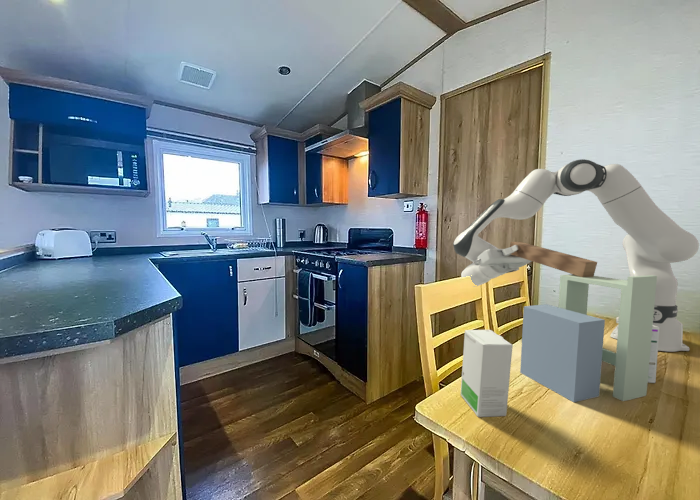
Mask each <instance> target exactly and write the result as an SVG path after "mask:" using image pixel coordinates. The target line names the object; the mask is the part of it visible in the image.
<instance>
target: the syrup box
mask: <svg viewBox="0 0 700 500" xmlns="http://www.w3.org/2000/svg"><path fill="white" fill-rule="evenodd" d="M658 342H659V327H657V326H654V325H653V327H652V338H651V349H650V360H649V371H648V383H649V384H656V379H657V367H658V353H659V350H658ZM648 383H647V384H648Z"/></svg>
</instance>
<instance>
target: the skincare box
mask: <svg viewBox="0 0 700 500" xmlns="http://www.w3.org/2000/svg"><path fill="white" fill-rule="evenodd" d="M513 347H514V346H513V343H511V342H509V341H507V340H506V339H504V337H503V336H502V335H500V334H497V333H496V332H495V331H493V330H492V329H467V330H466V329H465V330H464V339H463V352H462V353H463V354H462V355H463V356H462V366H461V367H462V369H461V370H462V371H461V381H460V383H461V384H460V397H462V399H463V400H464V402H465V403H466V404H467V405H468V406H469V408H470V409H471V410H472V412H474V413H475V416H476V417H478V418H490V417H493V418H495V417H507V414H508V413H507V411H508V400H509V390H510V388H509V387H510V378H511V367H512V366H511V365H512V355H513V354H512V353H513Z"/></svg>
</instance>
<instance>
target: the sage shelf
mask: <svg viewBox="0 0 700 500" xmlns="http://www.w3.org/2000/svg"><path fill="white" fill-rule="evenodd" d="M559 277H560V278H559V290H558V306H557V307H559V308H563V309H566V310H570V311H574V312H578V313H581V314H585V315H588V299H589V289H590V285H595V286H600V287H606V288H612V289H616V290H617V289H618V290H620V291H621V292H620V300H619V311H618V314H619V315H618V317H619V323H617V325H618V337H617V339H616V350H615V351H616V352H614V351H612V350H609V349H607V348H604V347H603V352H602V362H605V363H607V364H609V365H612V366H614V375H613V376H614V377H613V391H612V398H615V399H617V400H619V401H621V402H625V401H630V400H635V399H638V398H641V397H646V396H647V394H648V393H647V392H648V371H649V360H650V349H651V338H652V327H653V315H654V304H655V293H656V282H657V276H653V275H647V276H631V277H630V276H627V280H626V279H620V278H611V277H606V276H599V275H594V277H580V276H577V275H573V274H560V275H559Z"/></svg>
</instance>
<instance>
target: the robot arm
mask: <svg viewBox="0 0 700 500" xmlns="http://www.w3.org/2000/svg"><path fill="white" fill-rule="evenodd" d="M584 192H591V193H592V194H593V195H594V196H595V197H597V199H598V201H599V202H600V204H601V205H602V207H603V208H604V210H606V212H607V214H608V216H610V218H611V219H612V221H613V222H614V224H616V225H617V226H619V227H620V228H621V229H623V231H625V232H626V233H627V234H626V235H625V236H624V238H623V239H622V247H623V250H624V251H625V253H626V259H627V266H628V271H629V277H631V276H647V275H653V276H657V282H656V293H655V304H654V315H653V325H654V326H657V327H659V342H658V352H659V351H660V352H661V351H662V352H668V353H669V352H673V353H674V352H679V351H681V352H682V351H683V352H685V351H686V352H689V351H690V347H689V346H688V345H687V344H685V343H683V337H684V336H683V332H684V331H683V329H684V328H683V327H684V324H683V323H682V322H681V321H680V320H678V319H677V316H678V311H679V309H678V305H677V296H678V295H677V294H678V284H679V283H678V280H677V277H676V276H675V275H674V273H673V270H672V269H673V268H672V265H671V264H672V263H679V262H680V263H681V262H684V261H687V260H690V259H691V258H693V257H695V255H696V254H697V252H698V251H699V246H700V243H699V240H698V238H697V237H696V236H695V235H694V234H693V233H691V232H689V231H687V230H685V229H684V228H683V227H681V226H680V225H679V224H678V223H677V222H675V221H674V220H673V219H672V218H671V217H670V216H669V215H667V214H666V213H665V212H664V211H663V210H661V209H660V207H658V206H657V205H656V203H655V202H654V200H653V199H652V198H651V197H650V196H649V194H648V193H647V191H646V190H645V189H644V187H643V186H642V184H641V183H640V182H639V181H638V179H637V178H636V177H635V176H634V175H633V174H632V173H631V172H630V171H629V170H628V169H627V168H625V167H624V166H623V165H621V164H618V163H612V164H611V163H610V164H606V165H601V164H599V163H597V162H595V161H592V160H589V159H584V158H583V159H576V160H573V161H571V162H569V163H567V164H564V165H563V166H562V167H561V168H559V169H558V170H557V171H550V170H548V169H545V168H536V169H534V170H531V172H529V173H528V174H527V175H526V177H525V178H523V180H522V181H521V182H520V183H519V184H518V185H517V186H516V188H515V189H514V190H513V191H512V193H511V194H510V195H508V196H507V197H505V198H502V199H501V198H499V199H497V200H495V201H494V202H492V203H491V204H490V205H489V206H488V207H486V209H485V210H483V212H482V213H481V214H480V215H479V216H477V218H476V219H475V220H474V221H472V223H471V224H470V225H469V226H467V228H465V229H464V230H462V232H460V234H459V235H457V236H456V237H455V239H454V241H453V243H452V245H453V250H454V252H455V253H456V254H457V255H459V256H460V257H463V258H465V259H467V260H469V261H470V262H472V263H470V264H469V265H467V266H466V267H465V268H464V269H463V270H462V271H461V274H460V276H461V278H462V277H466V276H470V277H471V280H472V282H473V283H474V284H475V285H477V286H476V287H478V286H481V285H484V284H486V283H488V282H490V281H491V280H492V279H495V278H498V277H500V276H503V275H505V274H510V273H514V272H517V271H519V270H520V268H522V267H524V266H527V265H528V264H529V263H531V262H533V261H530V260H527V259H524V258H521V257H517V256H514V255H511V253H514V252H517V251H519V250H520V246H519V245H514V246H512V247H510V246H509V247H506V248H498V247H497V246H496V245H493V244H492V243H490V242H488V241H487V240H485V239H483V238H482V237H480V236H479V234H480V233H482V231H483V230H484V229H485V228H487V226H488V225H489V224H491V223H492V222H493V221H494V220H496V219H498V218H506V219H511V220H520V221H521V220H527V219H530V218H532V217H533V216H535V215H536V214H537V213H538V212H539V211H540V209H541V208H542V207H543V206H544V204H545V203H546V202H547V200H548V199H549V198H550V197H551V196H552V195H558V196H562V197H563V196H564V197H569V196H575V195H579V194H582V193H584ZM471 275H472V276H471ZM615 323H616V324H617V325H616V326H615V328H614V329H613V330H612V331H611V333H610V336H609V337H610V338H613V339H616V340H617V337H618V324H619V316H616V320H615Z"/></svg>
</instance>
